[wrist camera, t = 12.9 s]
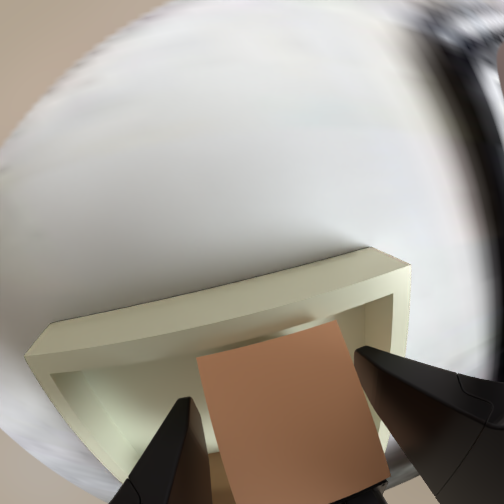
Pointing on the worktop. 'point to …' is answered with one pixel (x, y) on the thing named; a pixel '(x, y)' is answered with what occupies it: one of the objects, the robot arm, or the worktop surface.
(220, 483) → the walnut block
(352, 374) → the peach block
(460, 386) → the robot arm
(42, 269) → the worktop surface
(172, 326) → the tray
